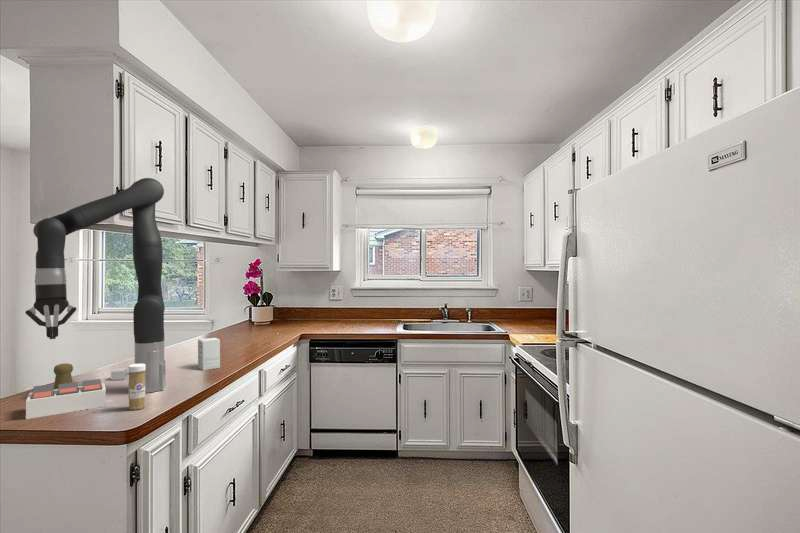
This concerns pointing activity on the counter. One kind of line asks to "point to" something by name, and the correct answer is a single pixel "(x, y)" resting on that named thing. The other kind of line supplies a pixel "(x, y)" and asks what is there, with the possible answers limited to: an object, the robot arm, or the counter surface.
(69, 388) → the switch middle
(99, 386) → the switch
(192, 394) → the counter surface
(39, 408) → the white switch panel
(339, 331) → the counter surface
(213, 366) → the supplement box
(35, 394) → the switch
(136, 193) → the robot arm
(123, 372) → the usb wall charger
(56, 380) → the cork
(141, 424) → the counter surface
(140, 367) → the sprinkles bottle
